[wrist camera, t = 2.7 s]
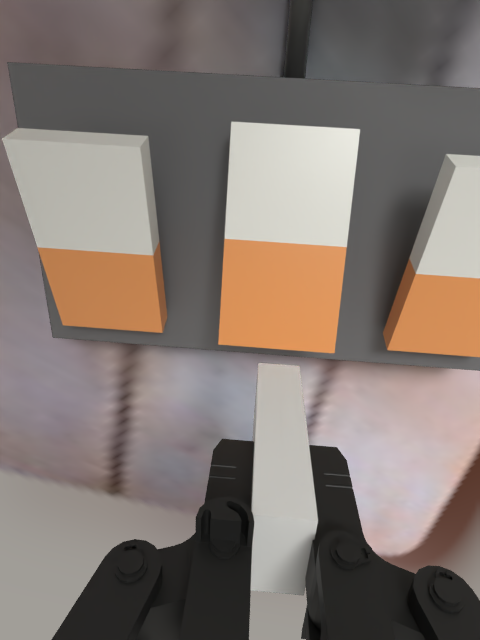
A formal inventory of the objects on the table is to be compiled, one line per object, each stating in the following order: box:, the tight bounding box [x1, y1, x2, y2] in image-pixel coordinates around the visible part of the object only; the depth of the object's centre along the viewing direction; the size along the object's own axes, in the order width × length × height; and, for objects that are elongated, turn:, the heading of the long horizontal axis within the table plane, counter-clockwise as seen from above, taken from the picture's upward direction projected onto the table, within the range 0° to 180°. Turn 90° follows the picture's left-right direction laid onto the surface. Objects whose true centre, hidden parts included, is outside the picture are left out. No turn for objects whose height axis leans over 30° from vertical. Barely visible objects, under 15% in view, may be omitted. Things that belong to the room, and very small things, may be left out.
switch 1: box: [2, 128, 167, 333], centre depth 19 cm, size 9×5×2 cm, turn 177°
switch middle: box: [218, 122, 360, 353], centre depth 18 cm, size 9×5×2 cm, turn 177°
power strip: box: [7, 0, 480, 371], centre depth 20 cm, size 22×24×4 cm
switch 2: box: [383, 154, 480, 357], centre depth 18 cm, size 9×5×2 cm, turn 177°
